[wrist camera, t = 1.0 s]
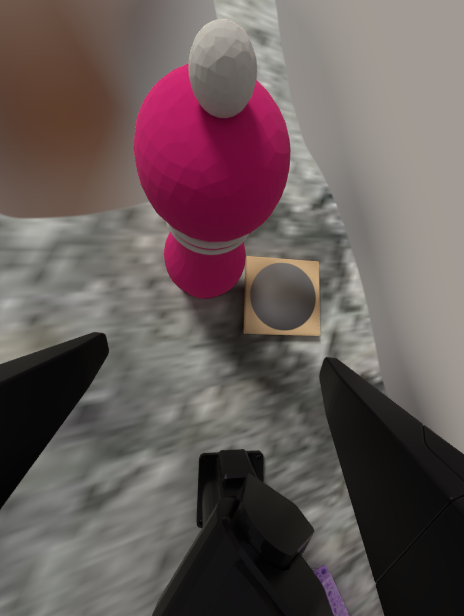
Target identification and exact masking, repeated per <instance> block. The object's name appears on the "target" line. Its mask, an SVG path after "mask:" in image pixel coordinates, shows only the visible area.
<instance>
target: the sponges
mask: <svg viewBox="0 0 464 616" xmlns="http://www.w3.org/2000/svg"><path fill="white" fill-rule="evenodd" d="M314 573H315V575H316V576H317V577H318V579H319V580H320V582H321V583H322V585H323V587H324V589H325V592H326V595H327V598H328V600H329V603H330V606H331V609H332V612H333V615H334V616H349V615H348V611H347V609H346V607H345V605H344V602H343V601H342V599H341V596H340V594H339V592H338V589H337V586H336V584H335V582H334V580H333V578H332V576H331V574H330V573H329V571H328V570H327V567H326V566H325V565H322V566H321V567H320V568H319V569H317V570H316V571H314Z"/></svg>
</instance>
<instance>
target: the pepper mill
mask: <svg viewBox="0 0 464 616" xmlns="http://www.w3.org/2000/svg"><path fill="white" fill-rule="evenodd" d="M256 78H257V61H256V56H255V53H254V49H253V46H252V43H251V41H250V39H249V37H248V35H247V34H246V32H245V31H244V30H243V29H242V28H241V27H240V26H239V25H237V24H235V23H234V22H232V21H230V20H228V19H220V20H213V21H212V22H210V23H208V24H206V25H204V27H203V28H202V29H201V30H200V32H199V33H198V34H197V36H196V38H195V40H194V42H193V45H192V48H191V51H190V57H189V64H187V65H184V66H182V67H179V68H177V69H175V70H173V71H172V72H170V73H169V74H167V75H166V76H165V77H163V78H162V79H161V80H160V81H158V83H157V84H156V85H155V86H154V87H153V88H152V89H151V91H150V92H149V93H148V95H147V96H146V98H145V99H144V101H143V104H142V106H141V109H140V111H139V114H138V116H137V122H136V129H135V139H134V154H135V161H136V166H137V172H138V176H139V179H140V183H141V186H142V188H143V190H144V191H145V194H146V196H147V198H148V200H149V201H150V203H151V205H152V206H153V208H154V209H155V211H156V212H157V214H159V215H160V216H161V217H162V218H163V219H164V220H165V221H166V224H167V227H168V229H169V230H170V233H169V235H168V238H167V240H166V243H165V249H164V258H165V265H166V268H167V272H168V274H169V276H170V278H171V279H172V281H173V282H174V283H175V284H176V285H177V286H178V287H179V288H180V289H182V290H183V291H184V292H186V293H188V294H190V295H191V296H194V297H197V298H202V299H208V298H213V297H216V296H219V295H221V294H223V293H226V292H227V291H228V290H230V289H231V288H232V287H233V286H234V285H235V284H236V283H237V282H238V280H239V278H240V277H241V275H242V272H243V269H244V266H245V260H246V254H245V246H244V243H243V241H244V240H245V239H246V238H247V236H248V235H249V233H251V232H252V231H254V230H255V229H256V228H258V227H259V226H260V225H262V224H263V223H264V222H265V221H266V220H267V218H268V217H269V216H270V215H271V213H272V212H273V210H274V209H275V207H276V205H277V204H278V202H279V200H280V198H281V196H282V194H283V191H284V188H285V186H286V182H287V177H288V173H289V167H290V141H289V135H288V131H287V127H286V123H285V120H284V118H283V116H282V114H281V112H280V109H279V107H278V106H277V104H276V103H275V101H274V100H273V98H272V97H271V95H270V94H269V93H268V91H267V90H266V89H265V88H264V87H263V86H262V85H261V84H260V83H259V82H258V81H257V80H256Z"/></svg>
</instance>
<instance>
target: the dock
mask: <svg viewBox="0 0 464 616" xmlns="http://www.w3.org/2000/svg"><path fill="white" fill-rule="evenodd" d="M244 334H275V335H312V336H320V303H319V262H317V261H304V260H291V259H278V258H265V257H252V256H247V257H246V260H245V297H244Z"/></svg>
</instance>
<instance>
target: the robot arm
mask: <svg viewBox="0 0 464 616" xmlns="http://www.w3.org/2000/svg"><path fill="white" fill-rule="evenodd" d="M108 353H109V347H108V343H107V338H106V335H105V334H104V333H98V332H93V333H90V334H87V335H84V336H81V337H78V338H75V339H73V340H70V341H67V342H64V343H61V344H58V345H55V346H52V347H49V348H46V349H43V350H40V351H38V352H35V353H32V354H29V355H26V356H23V357H20V358H17V359H14V360H11V361H8V362H6V363H3V364H0V509H1V508H2V507H3V505H4V504H5V502H6V501H7V500H8V498H9V497H10V495H11V494H12V493H13V491H14V490H15V489H16V487H17V486H18V484H19V483H20V482H21V480H22V479H23V478H24V476H25V475H26V473H27V472H28V471H29V469H30V468H31V467H32V465H33V464H34V462H35V461H36V460H37V458H38V457H39V455H40V454H41V453H42V451H43V450H44V449H45V447H46V446H47V444H48V443H49V442H50V440H51V439H52V438H53V436H54V435H55V433H56V432H57V431H58V429H59V428H60V427H61V425H62V424H63V422H64V421H65V420H66V418H67V417H68V415H69V414H70V413H71V411H72V410H73V409H74V407H75V406H76V404H77V403H78V402H79V400H80V399H81V398H82V396H83V395H84V393H85V392H86V391H87V389H88V388H89V386H90V385H91V383H92V381H93V380H94V378H95V376H96V375H97V373H98V371H99V369H100V368H101V366H102V364H103V363H104V361H105V359H106V357H107V356H108ZM319 378H320V385H321V390H322V396H323V402H324V408H325V413H326V417H327V421H328V424H329V428H330V431H331V435H332V438H333V441H334V445H335V448H336V452H337V455H338V458H339V462H340V465H341V469H342V472H343V475H344V479H345V482H346V486H347V489H348V492H349V496H350V499H351V503H352V506H353V509H354V513H355V516H356V520H357V523H358V526H359V530H360V533H361V537H362V540H363V543H364V547H365V550H366V554H367V557H368V560H369V564H370V567H371V571H372V574H373V577H374V581H375V583H377V584H376V588H377V592H378V595H379V599H380V602H381V605H382V609H383V612H384V616H464V454H463V453H461V452H460V451H459V450H457V449H456V448H454V447H453V446H452V445H450V444H449V443H448V442H446V441H445V440H444V439H442V438H441V437H440V436H438V435H437V434H435V433H434V432H433V431H432V430H430V429H429V428H428V427H426V426H425V425H423V424H422V423H421V422H419V421H418V420H417V419H416V418H414V417H413V416H412V415H410V414H409V413H408V412H407V411H405V410H404V409H403V408H401V407H400V406H399V405H397V404H396V403H394V402H393V401H392V400H391V399H389V398H388V397H387V396H386V395H384V394H383V393H382V392H380V391H379V390H378V389H376V388H375V387H374V386H372V385H371V384H370V383H368V382H367V381H366V380H364V379H363V378H362V377H360V376H359V375H358V374H357V373H355V372H354V371H353V370H351V369H350V368H349V367H347V366H346V365H345V364H343V363H342V362H341V361H339V360H338V359H337V358H331V357H326V358H325V359H324V361H323V364H322V367H321V371H320V376H319ZM257 455H260V457H259V458H256V457H257ZM203 458H206V461H202V459H203ZM201 519H203V521H202V522H201V521H200V520H201ZM197 526H198V527H199V528H202V529H201V531H200V533H199V534H198V536H197V538H196V539H195V541H194V543H193V544H192V546H191V547H190V549H189V551H188V552H187V554H186V556H185V557H184V559H183V561H182V562H181V564H180V566H179V567H178V569H177V571H176V572H175V574H174V575H173V577H172V579H171V580H170V582H169V584H168V585H167V587H166V589H165V590H164V592H163V594H162V595H161V597H160V599H159V601H158V603H157V605H156V608H155V610H154V612H153V614H152V616H334V615H333V612H332V609H331V606H330V603H329V600H328V598H327V595H326V592H325V589H324V587H323V585H322V583H321V582H320V580H319V579H318V577H317V576H316V575H315V573H314V572H313V571H312V569H311V568H310V567H309V565H308V564H307V563H306V561H305V560H304V558H303V557H302V554H303V552H304V550H305V549H306V547H307V545H308V543H309V541H310V539H311V537H312V535H313V533H314V529H313V527H312V526H311V524H310V523H309V522H308V520H307V519H306V518H305V516H304V515H303V514H302V512H301V511H300V510H299V508H298V507H297V506H296V505H295V504H294V503H293V502H291V501H290V500H288V499H287V498H285V497H284V496H282V495H281V494H279V493H278V492H276V491H275V490H273V489H272V488H271V487H269V486H268V485H266V484H265V483H263V454H262V453H261V451H258V450H257V451H245V450H244V449H240V450H221V451H220V452H216V453H203V454H201V455H200V457H199V474H198V498H197Z"/></svg>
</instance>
